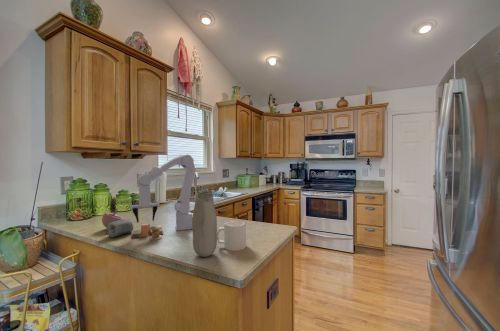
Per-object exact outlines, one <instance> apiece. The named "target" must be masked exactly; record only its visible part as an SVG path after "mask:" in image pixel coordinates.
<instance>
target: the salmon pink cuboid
mask: <svg viewBox="0 0 500 331" xmlns="http://www.w3.org/2000/svg"><path fill="white" fill-rule="evenodd" d="M149 227H151V223H149V222H148V223H142V224H141V225H140V230H141V237H149V236H151V233H150V229H149Z"/></svg>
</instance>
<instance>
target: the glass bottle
mask: <svg viewBox="0 0 500 331" xmlns="http://www.w3.org/2000/svg"><path fill="white" fill-rule="evenodd" d="M194 198H195V199H194V207H193V212H192V247H193V250H194V252H195V254H196V255H197V256H199V257H201V258H206V257H210V256H211V255H212V254H214V253H215V252H216V249H217V245H218V240H217V231H218V220H217V219H218V218H217V211H216V208H215V201H214V195H213V193H212V191H211V190H209V189H206V188H205V189H200V190H198V191H197V192H196V194H195V197H194Z"/></svg>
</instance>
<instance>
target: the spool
mask: <svg viewBox="0 0 500 331" xmlns="http://www.w3.org/2000/svg"><path fill="white" fill-rule="evenodd" d="M105 228H106V234H107V236H108V237H109V238H116V237H119V236H122V235H126V234H130V233H133V231H134V224H133V222H132V220H130V219H127V218H125V219H123V220H118V221H115V222H112V223H109V224H108V225H107V227H105Z"/></svg>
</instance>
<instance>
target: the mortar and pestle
mask: <svg viewBox="0 0 500 331" xmlns="http://www.w3.org/2000/svg"><path fill="white" fill-rule="evenodd" d="M117 213H118V209H115V210H114V212H111V211H110V212H107V211H105V212H104V213H103V215H102V219H101V221H102V222H101V223H102V225H103V226H104V227H105V228H106V227H107V225H108V224H109V223H112V222H115V221H118V220H123V219H126V217H124V216H122V215H118V214H117Z"/></svg>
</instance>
